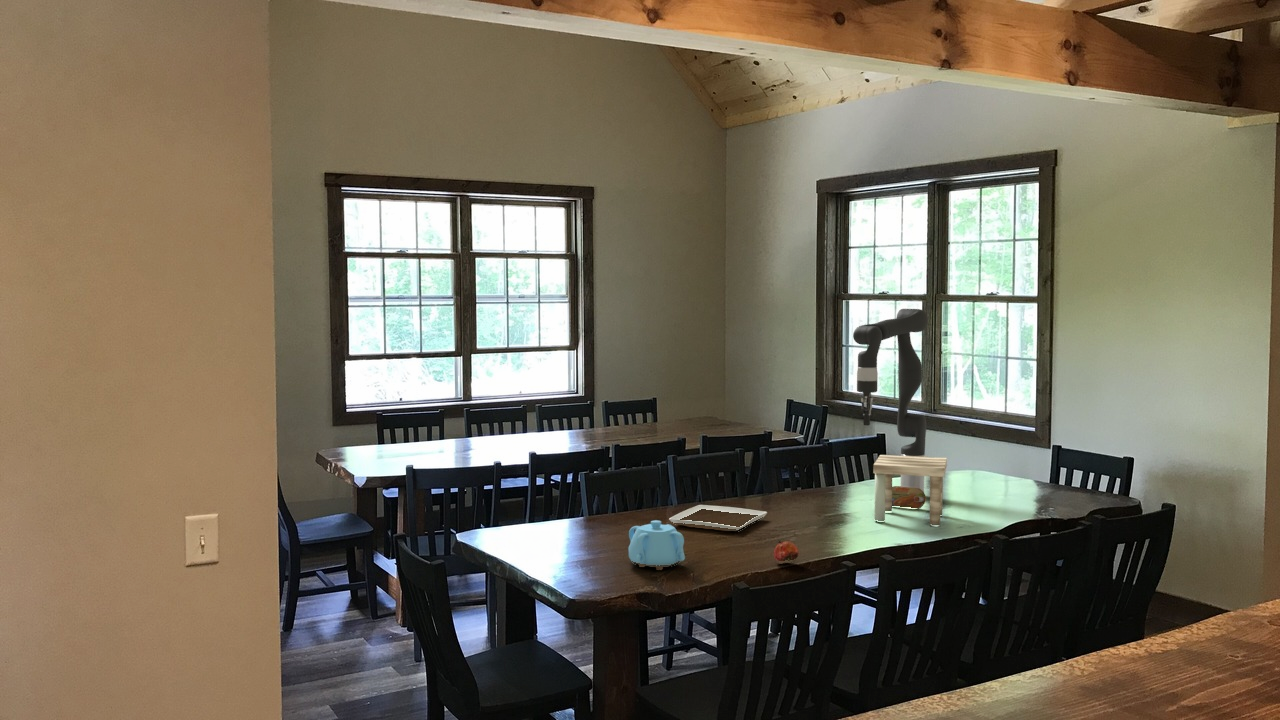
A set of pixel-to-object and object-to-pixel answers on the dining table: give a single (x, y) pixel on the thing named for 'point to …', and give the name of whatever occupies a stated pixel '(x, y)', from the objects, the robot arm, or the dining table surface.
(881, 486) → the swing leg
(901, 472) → the stool
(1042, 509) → the dining table surface
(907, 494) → the tin
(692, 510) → the square plate
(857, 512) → the dining table surface
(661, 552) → the decorative pot
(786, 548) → the pomegranate
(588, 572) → the dining table surface
